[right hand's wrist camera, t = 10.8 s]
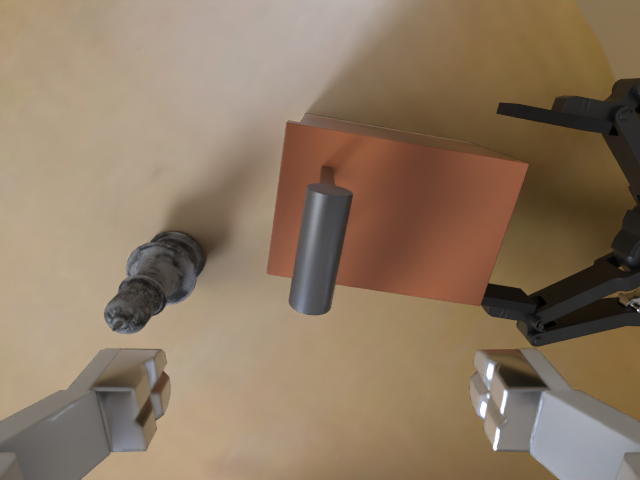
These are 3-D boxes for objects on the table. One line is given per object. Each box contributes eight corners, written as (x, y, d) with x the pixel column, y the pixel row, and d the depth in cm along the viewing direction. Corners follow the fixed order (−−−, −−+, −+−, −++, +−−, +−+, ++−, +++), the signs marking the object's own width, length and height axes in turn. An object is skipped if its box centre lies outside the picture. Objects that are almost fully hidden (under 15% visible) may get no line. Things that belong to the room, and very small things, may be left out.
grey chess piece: (155, 217, 36) (81, 275, 25) (216, 245, 37) (171, 313, 26) (135, 270, 38) (56, 346, 27) (193, 296, 39) (141, 380, 27)
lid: (268, 266, 27) (246, 342, 19) (288, 120, 24) (271, 135, 16) (473, 297, 28) (536, 383, 20) (519, 160, 25) (619, 194, 17)
